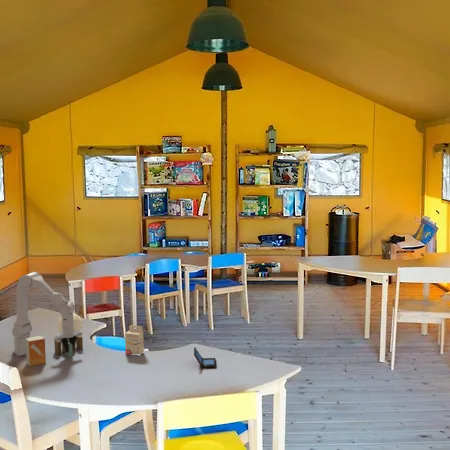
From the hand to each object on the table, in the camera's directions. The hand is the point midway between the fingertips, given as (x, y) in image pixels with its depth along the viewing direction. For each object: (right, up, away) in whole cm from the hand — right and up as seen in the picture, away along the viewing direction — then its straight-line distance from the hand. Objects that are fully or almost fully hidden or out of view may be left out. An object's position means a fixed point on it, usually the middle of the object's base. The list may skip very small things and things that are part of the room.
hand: (69, 351), depth 295 cm
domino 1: (-7, -2, +5) cm, 9 cm away
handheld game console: (+71, -4, -14) cm, 73 cm away
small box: (-14, -4, -9) cm, 17 cm away
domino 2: (-4, -2, +7) cm, 8 cm away
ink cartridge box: (+34, -2, +2) cm, 34 cm away
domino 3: (0, -3, 0) cm, 3 cm away
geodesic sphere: (-9, +1, +35) cm, 36 cm away
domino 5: (+2, -1, +12) cm, 12 cm away
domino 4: (-1, -2, +10) cm, 10 cm away
